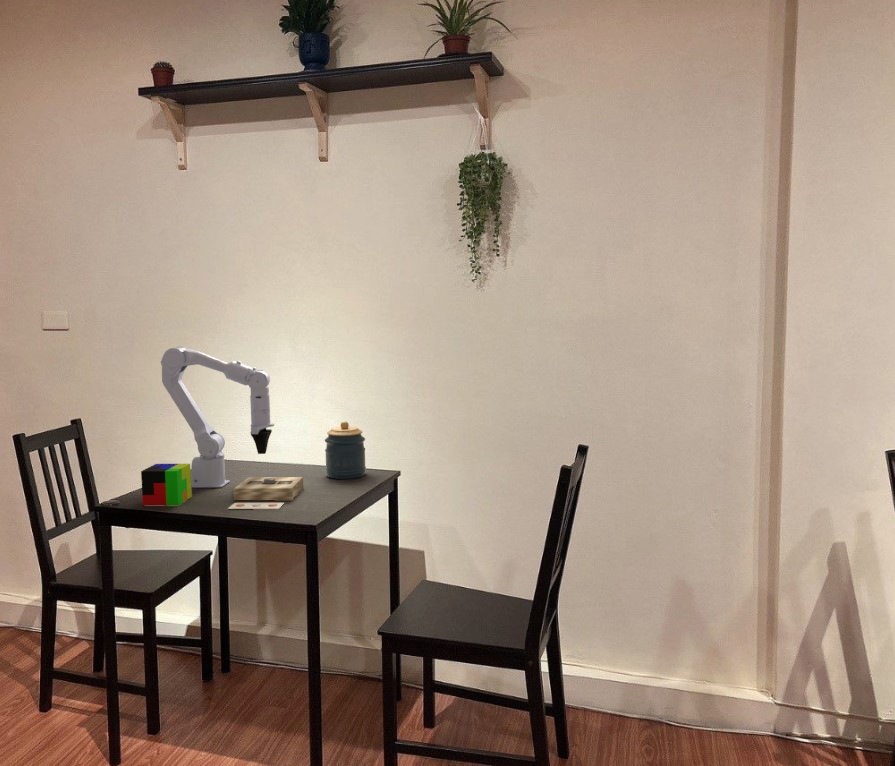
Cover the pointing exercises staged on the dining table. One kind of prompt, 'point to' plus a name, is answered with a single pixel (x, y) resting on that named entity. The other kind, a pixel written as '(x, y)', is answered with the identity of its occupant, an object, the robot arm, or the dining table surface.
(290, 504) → the dining table surface
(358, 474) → the canister
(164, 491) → the puzzle toy
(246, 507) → the card
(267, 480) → the middle button
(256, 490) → the button board
